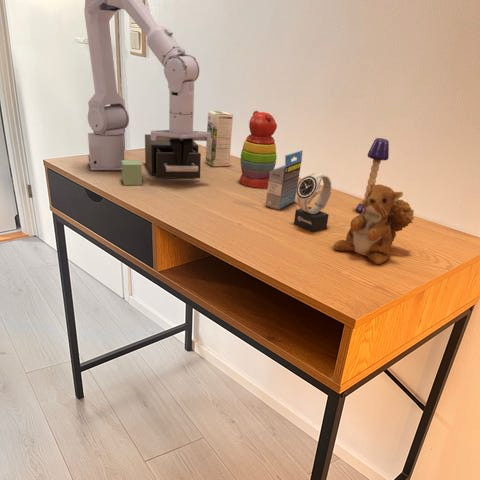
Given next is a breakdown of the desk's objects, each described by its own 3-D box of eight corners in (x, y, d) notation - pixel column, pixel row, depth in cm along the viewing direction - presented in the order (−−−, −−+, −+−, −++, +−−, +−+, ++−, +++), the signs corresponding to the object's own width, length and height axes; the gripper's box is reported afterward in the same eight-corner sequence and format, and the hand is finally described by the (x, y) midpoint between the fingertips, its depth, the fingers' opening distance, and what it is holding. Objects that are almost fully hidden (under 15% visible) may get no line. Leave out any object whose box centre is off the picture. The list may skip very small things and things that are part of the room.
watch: (287, 225, 105) (294, 173, 99) (312, 219, 109) (320, 169, 104) (306, 233, 101) (314, 180, 96) (332, 227, 106) (341, 175, 100)
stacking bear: (284, 186, 130) (293, 115, 121) (252, 190, 125) (259, 115, 116) (261, 176, 138) (268, 108, 129) (230, 179, 133) (235, 108, 124)
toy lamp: (376, 210, 118) (392, 138, 110) (375, 216, 114) (392, 142, 106) (356, 207, 119) (370, 135, 111) (354, 213, 115) (369, 139, 107)
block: (123, 185, 121) (123, 164, 118) (122, 180, 124) (121, 159, 122) (142, 184, 122) (141, 164, 120) (139, 180, 126) (139, 160, 123)
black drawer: (204, 183, 124) (205, 158, 121) (160, 183, 121) (159, 157, 118) (190, 166, 139) (190, 143, 135) (150, 165, 135) (150, 142, 132)
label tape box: (281, 198, 121) (287, 146, 115) (296, 201, 120) (303, 149, 113) (264, 206, 115) (270, 152, 108) (280, 210, 113) (286, 155, 107)
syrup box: (204, 162, 147) (206, 110, 140) (222, 161, 150) (225, 110, 142) (211, 166, 143) (214, 113, 136) (230, 166, 145) (233, 113, 138)
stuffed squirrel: (329, 250, 94) (341, 181, 88) (369, 235, 103) (383, 172, 96) (373, 268, 88) (390, 196, 82) (411, 250, 97) (430, 184, 91)
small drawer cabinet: (197, 175, 134) (198, 145, 130) (151, 175, 130) (151, 144, 126) (187, 163, 144) (188, 135, 140) (145, 163, 141) (144, 134, 137)
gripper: (153, 114, 112) (154, 174, 118) (215, 116, 116) (212, 174, 123) (149, 109, 117) (150, 167, 124) (208, 111, 121) (205, 167, 128)
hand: (180, 170), depth 124 cm, fingers closed, pressing on black drawer
